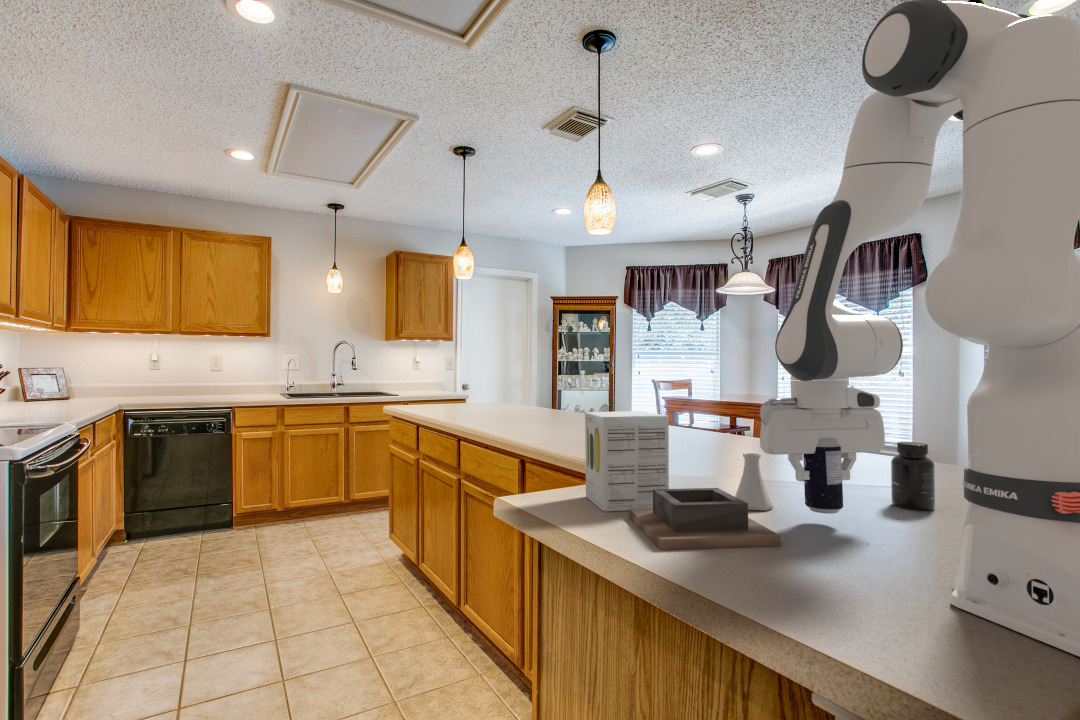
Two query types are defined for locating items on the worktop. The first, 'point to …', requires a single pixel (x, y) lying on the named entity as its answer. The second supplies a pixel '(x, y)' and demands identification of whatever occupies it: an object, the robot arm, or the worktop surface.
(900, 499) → the supplement bottle
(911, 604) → the worktop surface
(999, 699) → the worktop surface
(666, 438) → the supplement box
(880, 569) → the worktop surface
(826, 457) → the beverage can
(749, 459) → the flask
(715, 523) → the square holder on base
